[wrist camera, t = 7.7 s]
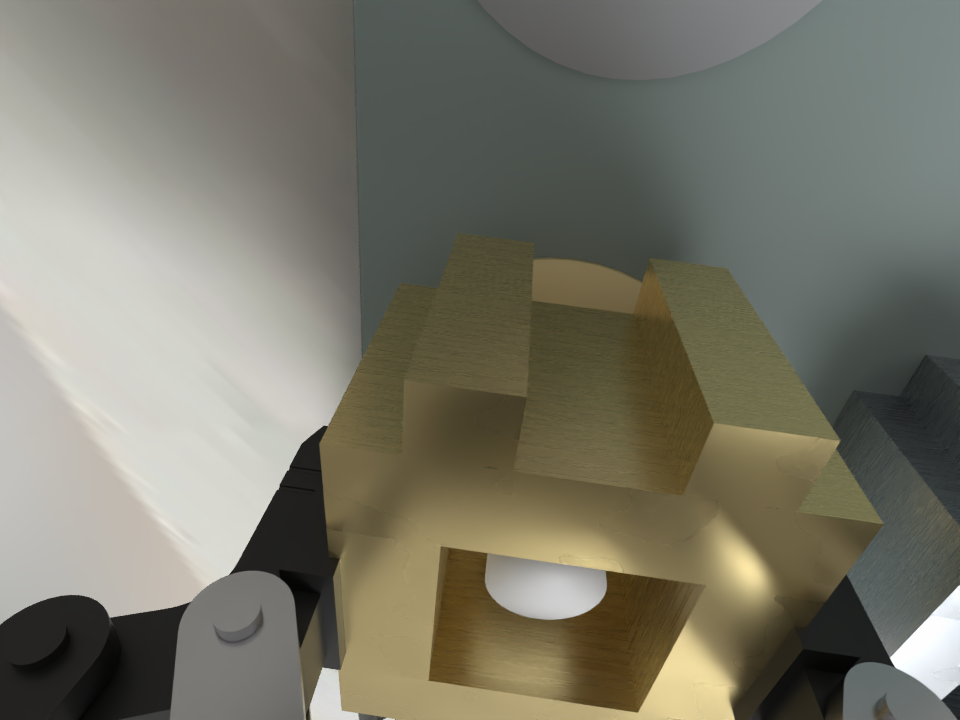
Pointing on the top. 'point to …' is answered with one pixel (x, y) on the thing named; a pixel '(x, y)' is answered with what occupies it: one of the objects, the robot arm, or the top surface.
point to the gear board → (674, 174)
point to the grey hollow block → (911, 520)
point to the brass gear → (578, 497)
